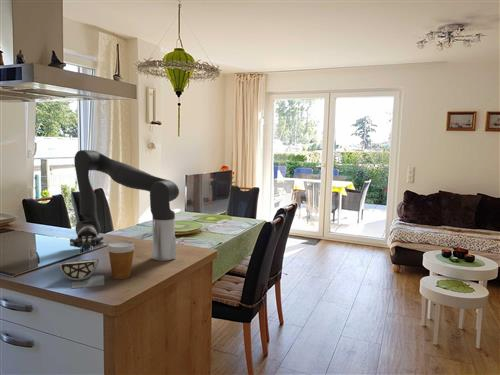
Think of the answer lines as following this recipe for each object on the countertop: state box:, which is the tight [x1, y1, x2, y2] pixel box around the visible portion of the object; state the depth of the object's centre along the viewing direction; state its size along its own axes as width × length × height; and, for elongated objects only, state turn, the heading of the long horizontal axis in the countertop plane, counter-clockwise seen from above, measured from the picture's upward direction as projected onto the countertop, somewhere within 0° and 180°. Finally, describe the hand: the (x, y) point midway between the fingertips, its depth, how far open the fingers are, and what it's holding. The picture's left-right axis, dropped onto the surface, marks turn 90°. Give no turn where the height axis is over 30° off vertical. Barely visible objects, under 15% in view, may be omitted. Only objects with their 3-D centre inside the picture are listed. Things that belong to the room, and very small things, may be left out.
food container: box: [59, 258, 99, 281], centre depth 133 cm, size 12×6×10 cm
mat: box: [71, 274, 105, 290], centre depth 130 cm, size 10×10×1 cm
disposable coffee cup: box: [107, 240, 136, 280], centre depth 136 cm, size 10×10×12 cm
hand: (86, 246), depth 141 cm, fingers closed
